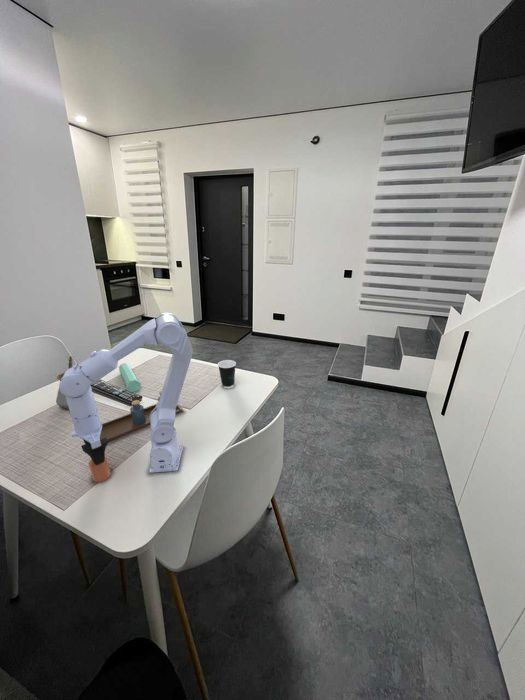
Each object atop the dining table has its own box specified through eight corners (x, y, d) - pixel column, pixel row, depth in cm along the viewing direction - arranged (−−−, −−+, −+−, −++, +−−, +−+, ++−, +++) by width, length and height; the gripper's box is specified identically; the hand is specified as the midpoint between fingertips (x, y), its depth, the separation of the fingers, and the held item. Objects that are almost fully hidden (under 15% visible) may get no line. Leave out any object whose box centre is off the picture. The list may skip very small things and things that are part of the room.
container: (118, 360, 139) (128, 379, 120) (131, 361, 143) (142, 380, 124) (115, 371, 140) (124, 392, 121) (128, 372, 144) (139, 393, 124)
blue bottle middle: (143, 424, 101) (140, 405, 98) (131, 425, 101) (126, 405, 98) (147, 416, 105) (143, 398, 102) (134, 417, 105) (131, 399, 102)
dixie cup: (235, 390, 124) (234, 367, 120) (217, 389, 125) (215, 367, 120) (238, 381, 131) (237, 360, 127) (221, 381, 132) (220, 359, 128)
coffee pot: (90, 407, 112) (80, 373, 107) (55, 414, 108) (43, 379, 102) (94, 383, 130) (86, 353, 125) (64, 389, 126) (55, 358, 120)
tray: (171, 401, 116) (171, 398, 115) (183, 412, 109) (182, 409, 108) (91, 432, 98) (90, 428, 97) (98, 447, 91) (97, 443, 90)
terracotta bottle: (107, 481, 78) (100, 458, 75) (90, 482, 78) (83, 460, 75) (113, 469, 83) (107, 447, 80) (97, 470, 82) (90, 448, 79)
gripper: (61, 406, 75) (74, 447, 80) (71, 433, 65) (85, 478, 70) (91, 397, 80) (101, 436, 85) (105, 421, 69) (116, 464, 74)
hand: (96, 455), depth 78 cm, fingers open, 7 cm apart
